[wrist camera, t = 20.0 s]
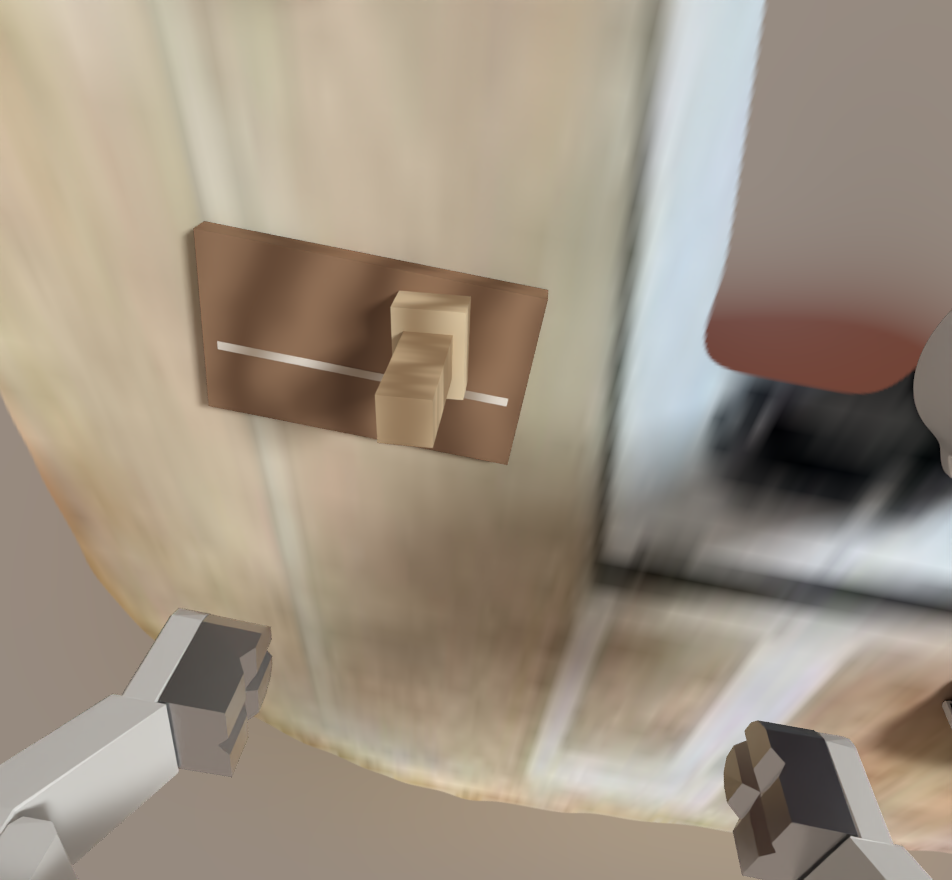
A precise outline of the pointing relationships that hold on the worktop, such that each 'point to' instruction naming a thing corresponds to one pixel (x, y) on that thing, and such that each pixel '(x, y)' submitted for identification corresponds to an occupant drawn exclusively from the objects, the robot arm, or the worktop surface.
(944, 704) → the grey arched slab
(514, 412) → the walnut board
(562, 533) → the worktop surface
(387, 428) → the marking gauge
